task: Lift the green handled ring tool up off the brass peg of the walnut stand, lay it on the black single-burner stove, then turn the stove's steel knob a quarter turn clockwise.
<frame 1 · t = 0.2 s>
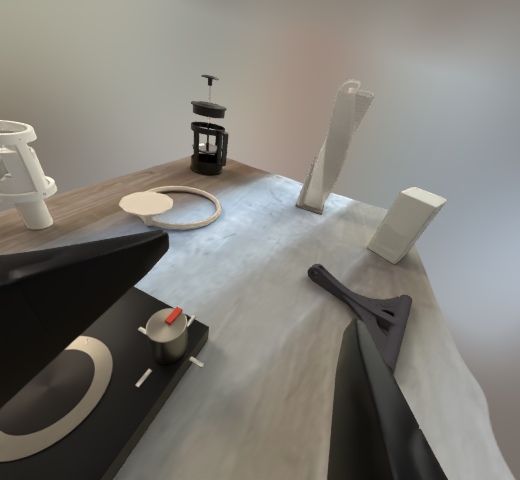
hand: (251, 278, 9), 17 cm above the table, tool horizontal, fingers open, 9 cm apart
skyscraper: (312, 205, 59), on the table
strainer: (40, 225, 34), on the table
burner knob: (168, 335, 19), point 5 cm above the table, hinge at 0.0°
small box: (386, 250, 47), on the table
hand towel holder: (174, 212, 44), on the table
french press: (207, 170, 65), on the table
burner: (50, 387, 16), resting on stove
bracket: (349, 302, 32), on the table
stove: (87, 395, 18), on the table
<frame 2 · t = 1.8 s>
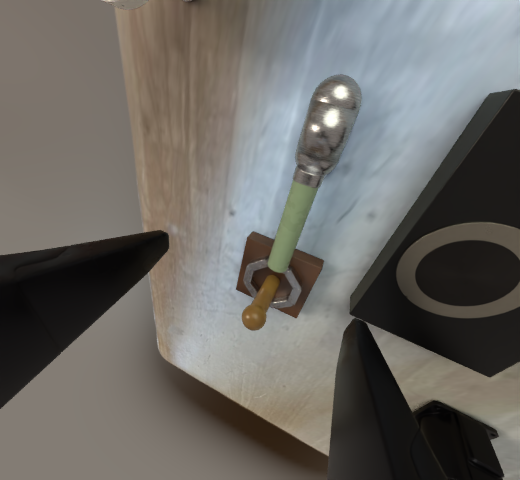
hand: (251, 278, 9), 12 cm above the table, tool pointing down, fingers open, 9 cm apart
green handled ring tool: (306, 191, 19), on the table, touching peg stand
peg stand: (277, 272, 25), on the table
burner: (462, 274, 15), resting on stove
stove: (481, 253, 16), on the table
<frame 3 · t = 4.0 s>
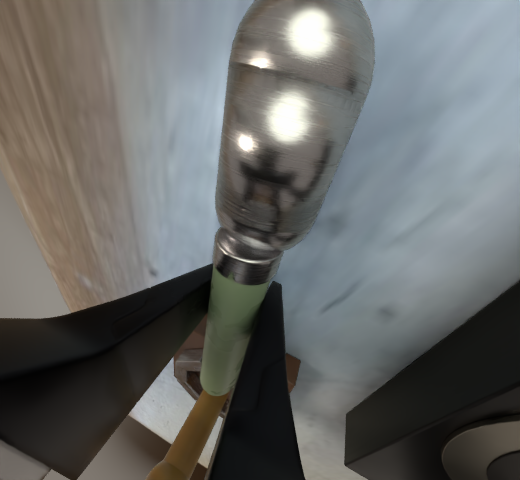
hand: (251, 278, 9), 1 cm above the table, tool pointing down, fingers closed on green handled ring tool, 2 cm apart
green handled ring tool: (261, 257, 10), on the table, touching gripper, peg stand
peg stand: (232, 360, 16), on the table
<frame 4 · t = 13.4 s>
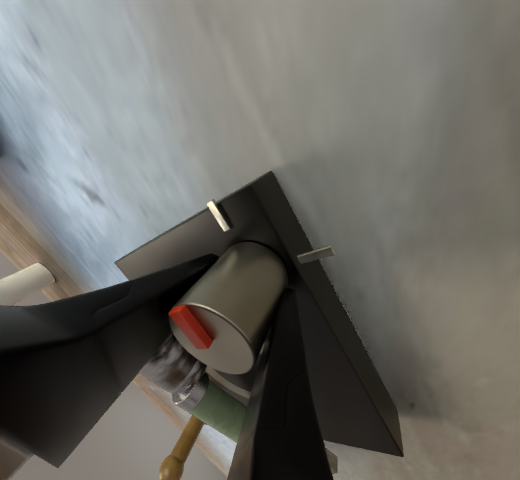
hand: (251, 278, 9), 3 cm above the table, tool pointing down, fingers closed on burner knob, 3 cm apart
green handled ring tool: (227, 364, 16), point 2 cm above the table, tilted 9°, touching burner, stove
peg stand: (211, 394, 26), on the table
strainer: (47, 272, 27), on the table
burner knob: (234, 303, 8), point 5 cm above the table, hinge at 0.0°, touching gripper
burner: (240, 364, 15), resting on stove
stove: (263, 323, 15), on the table
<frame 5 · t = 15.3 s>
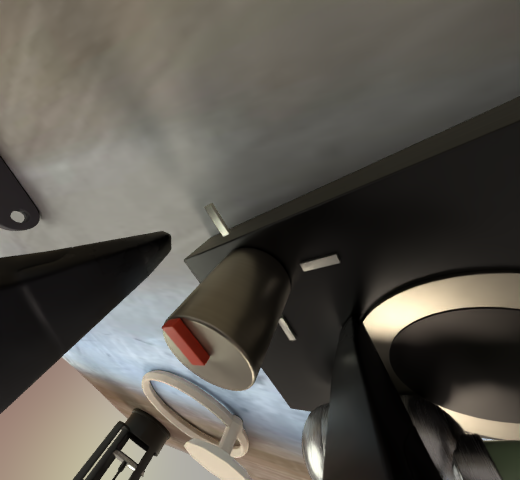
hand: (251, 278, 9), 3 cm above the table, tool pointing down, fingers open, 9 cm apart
green handled ring tool: (508, 392, 8), point 2 cm above the table, tilted 9°, touching burner, stove
burner knob: (233, 313, 8), point 5 cm above the table, hinge at -91.0°
hand towel holder: (204, 409, 29), on the table
french press: (151, 420, 45), on the table
burner: (483, 366, 7), resting on stove
stove: (419, 289, 9), on the table
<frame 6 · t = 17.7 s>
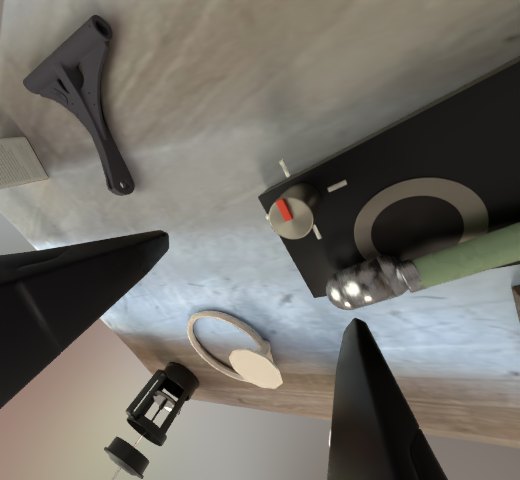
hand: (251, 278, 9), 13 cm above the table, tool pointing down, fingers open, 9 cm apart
green handled ring tool: (427, 248, 16), point 2 cm above the table, tilted 9°, touching burner, stove
burner knob: (296, 210, 16), point 5 cm above the table, hinge at -91.0°
small box: (26, 159, 34), on the table
hand towel holder: (237, 343, 37), on the table
french press: (182, 372, 53), on the table
burner: (413, 231, 16), resting on stove
bracket: (105, 130, 26), on the table
stove: (387, 207, 18), on the table
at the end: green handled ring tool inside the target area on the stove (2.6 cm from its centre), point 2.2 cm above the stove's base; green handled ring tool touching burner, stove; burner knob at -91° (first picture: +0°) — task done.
